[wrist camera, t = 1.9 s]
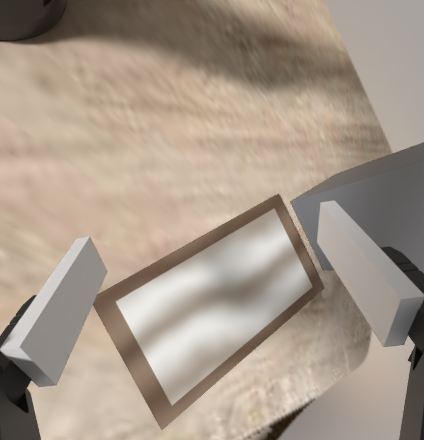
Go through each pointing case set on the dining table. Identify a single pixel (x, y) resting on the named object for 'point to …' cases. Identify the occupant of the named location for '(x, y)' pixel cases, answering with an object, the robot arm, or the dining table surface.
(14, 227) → the dining table surface
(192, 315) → the writing pad
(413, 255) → the stand
